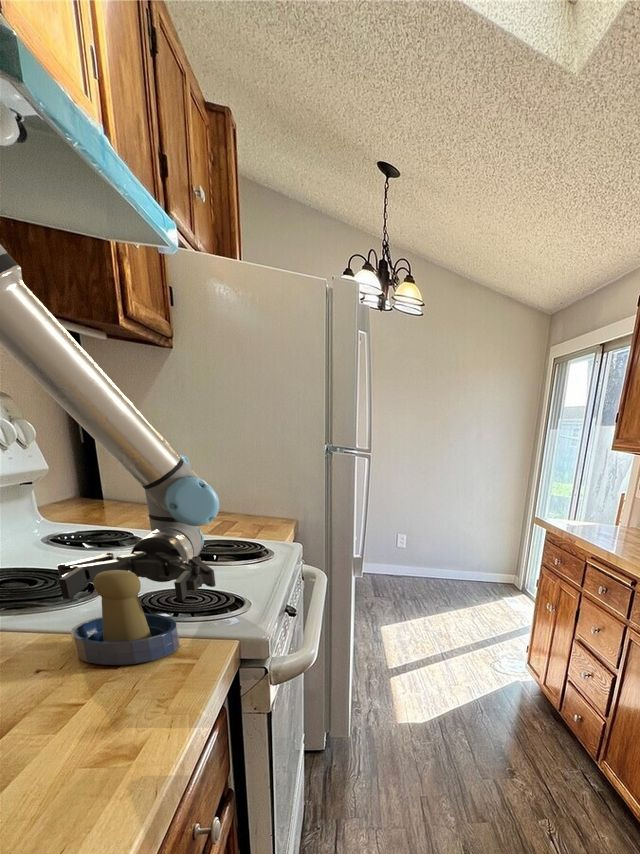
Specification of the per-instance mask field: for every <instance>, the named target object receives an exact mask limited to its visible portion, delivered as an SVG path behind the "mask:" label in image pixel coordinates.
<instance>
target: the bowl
mask: <svg viewBox="0 0 640 854" xmlns="http://www.w3.org/2000/svg"><path fill="white" fill-rule="evenodd" d="M144 615H145V618H146V621H147V624H148V627H149V630H150V633H151V636H152V637H150V638H146V639H140V640H134V641H121V642H103V619H102V616H100V617H95V618H90V619H88V620H85V621H82V622H80V623H79V624H76V625H75V626H74V627H72V629H71V631H70V637H71V640H72V644H73V645H72V646H73V650H74V653H75V655H76V656H77V659H79V660H81V661H83V662H86V663H90V664H96V665H102V666H104V665H105V666H128V665H136V664H137V665H138V664H143V663H147V662H153V661H156V660H158V659H161V658H165V657H167V656H169V655H171V654H173V653H175V652H176V651H177V650H178V649H179V648H180V637H179V631H178V623H177V621H175V620H174V619H173V618H170V617H167V616H164V615H159V614H155V613H154V614H153V613H144Z"/></svg>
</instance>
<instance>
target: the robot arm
mask: <svg viewBox="0 0 640 854" xmlns="http://www.w3.org/2000/svg"><path fill="white" fill-rule="evenodd" d="M0 347H1V348H2V349H3V350H4V351H5V352H6V353H7V354H8V355H9V356H10V357H11V358H12V359H13V360H14V361H15V363H17V364H18V365H19V366H20V367H21V368H22V369H23V370H24V371H25V372H26V373H27V374H28V375H29V376H30V377H31V378H32V379H33V380H34V381H35V382H36V383H37V384H38V385H39V386H40V387H41V388H42V389H43V390H44V391H45V392H46V393H47V394H48V395H49V396H50V397H51V398H52V399H53V400H54V401H55V402H57V404H58V405H59V406H60V407H61V408H62V409H63V410H64V411H66V413H68V415H70V417H72V418H73V419H74V420H75V421H76V422H77V424H78V425H80V427H82V428H83V429H84V431H86V432H87V433H88V434H89V435H90V437H92V438H93V439H94V440H95V442H97V444H99V446H100V447H102V448H103V449H104V450H105V451H106V452H107V453H108V455H110V456H111V457H112V458H113V459H114V460H115V461H116V462H117V463H118V464H119V465H120V466H121V467H122V468H123V469H124V470H125V471H126V472H127V473H128V474H129V475H130V476H131V477H132V478H133V479H134V480H135V481H136V482H137V483H138V484H139V485H140V486H141V487H142V488H143V489H144V494H145V501H146V505H147V511H148V518H149V525H150V533H148V534H146V535H145V536H144V537H142V538H141V539H140V540H139V541H137V542H136V543H135V544H134V546H133V548H132V549H131V553H130V554H123V555H118V556H116V557H115V555H114V553H112V552H104V553H102V554H100V555H96V556H93V557H88V558H83V559H78V560H73V561H69V562H64V563H59V564H57V565H56V568H57V571H58V575H59V578H58V583H59V587H60V591H61V596H62V599H63V600H71V599H72V598H73V597H74V596H76V595H77V594H79V593H80V592H81V591H83V590H85V589H86V588H87V587H89V584H91V583H94V578H95V576H96V575H97V574H99V573H101V572H104V571H110V570H125V571H130V572H132V573H134V574H135V575H136V576H137V577H138V578H143V579H144V578H145V579H147V580H150V581H153V582H157V583H167V582H171V581H174V582H173V584H174V591H175V598H176V601H177V602H183V601H184V600H185V599H186V598H187V597H188V595H189V594H190V593H191V591H197V590H198V589H199V588H202V587H203V585H205V586H207V587H210V588H214V587H216V577H215V570H214V569H213V568H211V566H209V565H208V564H206V563H205V562H203V561H202V558H201V556H200V555H201V553H202V549H204V545H205V538H204V537H205V536H204V534H203V532H202V530H201V529H200V527H201V526H206V525H208V524H210V523H212V522H213V521H214V519H216V517H217V516H218V514H219V511H220V510H219V509H220V499H219V496H218V494H217V492H216V491H215V489H214V488H213V487H212V486H211V485H210V484H209V483H208V482H207V480H204V479H203V478H201V477H199V476H198V474H197V473H196V472H195V471H194V470H193V468H192V467H191V465H190V460H189V458H188V457H187V456H186V455H184V454H180V453H178V452H177V451H176V450H175V449H174V447H172V445H170V443H169V442H168V441H167V440H166V438H164V437H163V435H162V434H161V433H160V432H159V430H158V429H156V427H154V426H153V424H152V423H151V422H150V421H149V420H148V419H147V418H146V417H145V415H144V414H143V413H142V412H141V411H140V409H138V408H137V407H136V405H135V404H133V402H132V401H131V400H130V399H129V398H128V397H127V396H126V395H125V393H124V392H123V391H122V390H121V389H120V388H119V387H118V386H117V384H115V382H114V381H113V380H112V379H111V377H109V376H108V374H107V373H106V372H105V371H103V369H102V368H101V367H100V365H98V364H97V362H96V361H95V360H94V359H93V358H92V357H91V356H90V354H88V353H87V351H86V350H85V349H84V348H83V347H82V346H81V344H79V342H77V341H76V339H75V338H74V337H73V336H72V335H71V333H69V331H67V329H66V328H65V327H64V326H63V325H62V324H61V323H60V322H59V320H58V319H57V318H56V317H55V315H53V314H52V313H51V312H50V310H48V308H47V307H46V306H45V305H44V303H42V301H41V300H39V298H38V297H37V296H36V295H35V294H34V293H33V291H32V290H31V289H30V288H29V287H28V286H27V285H26V284H25V283H24V281H23V273H22V267H21V266H20V265H19V264H18V262H17V261H16V260H14V258H13V257H12V256H11V255H10V254H9V253H8V251H7V250H6V249H5V248H4V247H3V245H2V244H1V243H0Z"/></svg>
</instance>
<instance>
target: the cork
mask: <svg viewBox="0 0 640 854" xmlns="http://www.w3.org/2000/svg"><path fill="white" fill-rule="evenodd" d="M92 583H93V587H94V590H95V592H96V593H97V595H99V596H100V597H101V617H102V619H103V642H121V641H134V640H140V639H146V638H150V637H152V636H151V633H150V630H149V627H148V624H147V621H146V618H145V615H144V614H145V612H144V609H143V607H142V604H141V601H140V597H139V594H140V591H141V589H142V588H141V587H142V585H141V580H140V577H137V576H136V575H135V574H134V573H132V572H130V571H125V570H110V571H104V572H101V573H99V574H97V575H96V576H95V578H94V582H92Z"/></svg>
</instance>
